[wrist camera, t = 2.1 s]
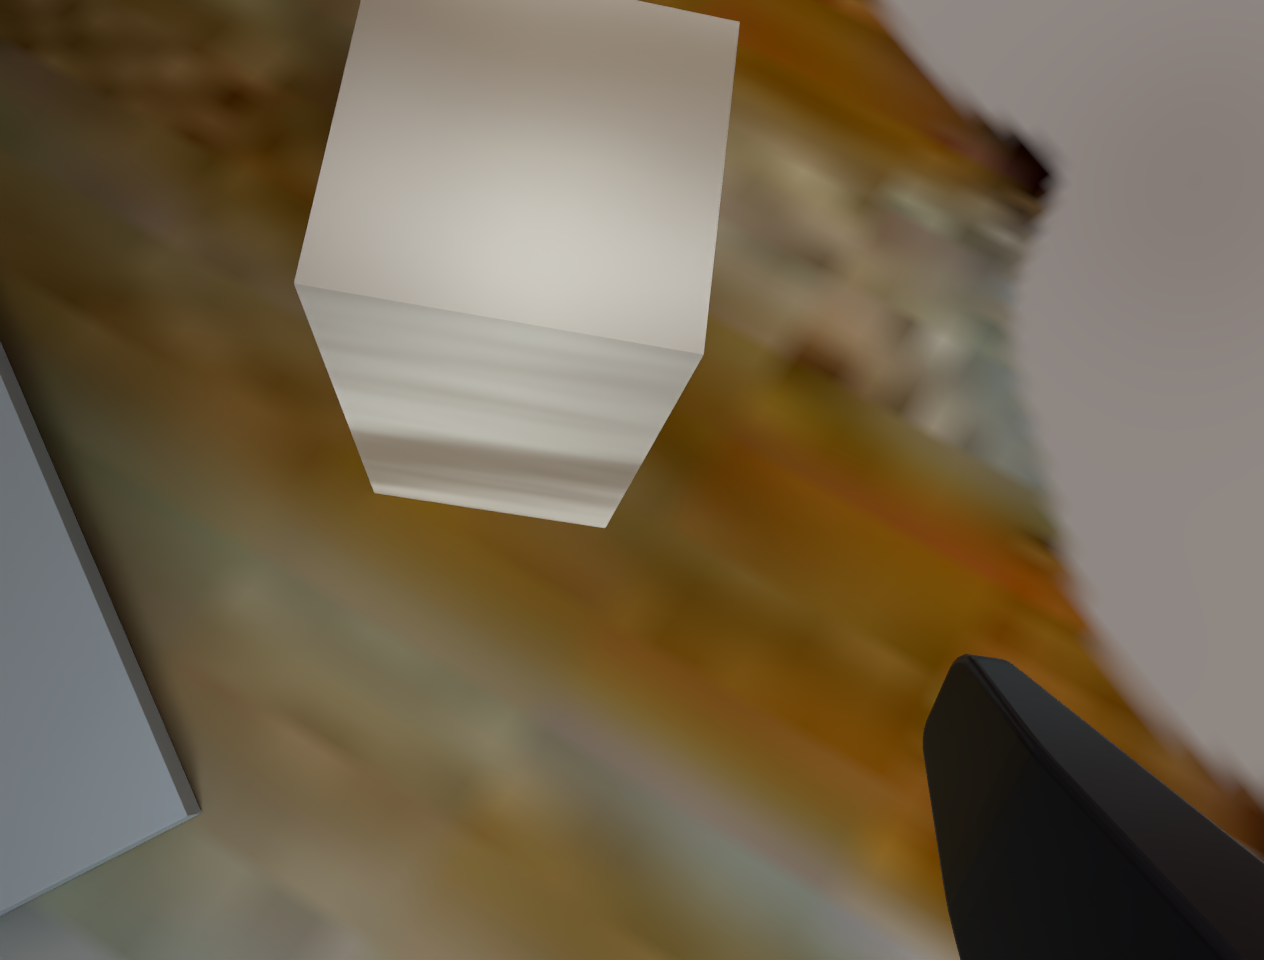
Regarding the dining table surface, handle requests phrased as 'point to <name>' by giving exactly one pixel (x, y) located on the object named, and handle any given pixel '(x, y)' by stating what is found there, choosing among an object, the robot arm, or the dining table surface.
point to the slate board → (67, 689)
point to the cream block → (518, 243)
